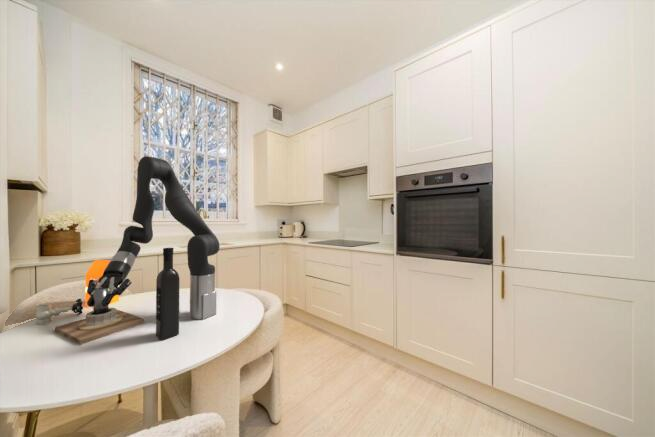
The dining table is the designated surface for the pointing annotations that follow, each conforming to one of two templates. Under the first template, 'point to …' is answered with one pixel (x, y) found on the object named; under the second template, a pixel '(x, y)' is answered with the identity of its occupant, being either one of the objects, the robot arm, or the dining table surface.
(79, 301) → the valve
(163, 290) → the wine bottle
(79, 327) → the socket fitting
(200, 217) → the robot arm
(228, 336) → the dining table surface
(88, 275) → the orange juice
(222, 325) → the dining table surface
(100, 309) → the grey metal cylinder
